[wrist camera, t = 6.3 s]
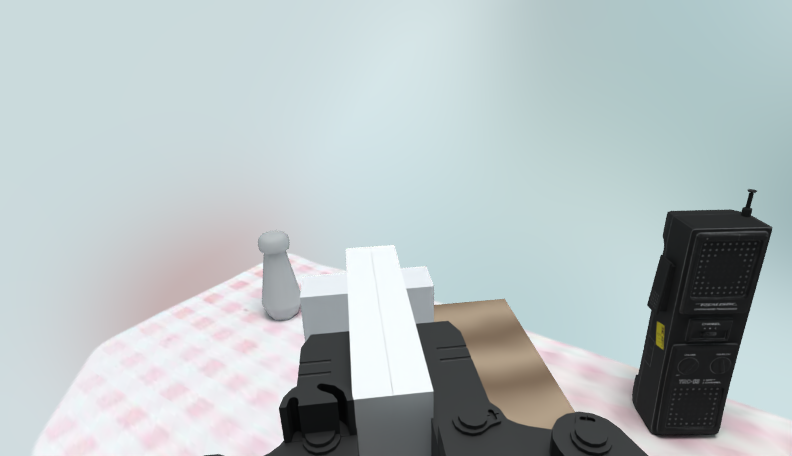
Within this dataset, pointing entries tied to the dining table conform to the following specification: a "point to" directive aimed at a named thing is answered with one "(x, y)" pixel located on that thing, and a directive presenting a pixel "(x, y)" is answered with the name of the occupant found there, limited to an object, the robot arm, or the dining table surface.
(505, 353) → the wooden cabinet
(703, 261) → the portable radio
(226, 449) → the dining table surface
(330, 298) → the sliding door
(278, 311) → the salt shaker
